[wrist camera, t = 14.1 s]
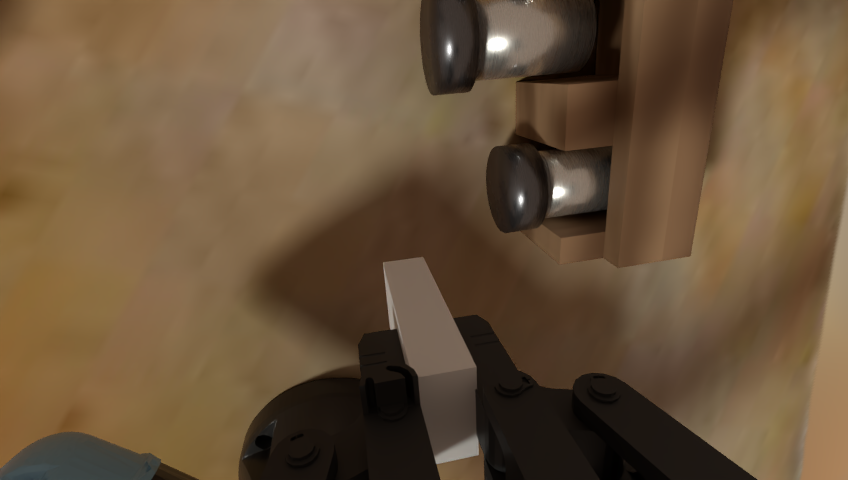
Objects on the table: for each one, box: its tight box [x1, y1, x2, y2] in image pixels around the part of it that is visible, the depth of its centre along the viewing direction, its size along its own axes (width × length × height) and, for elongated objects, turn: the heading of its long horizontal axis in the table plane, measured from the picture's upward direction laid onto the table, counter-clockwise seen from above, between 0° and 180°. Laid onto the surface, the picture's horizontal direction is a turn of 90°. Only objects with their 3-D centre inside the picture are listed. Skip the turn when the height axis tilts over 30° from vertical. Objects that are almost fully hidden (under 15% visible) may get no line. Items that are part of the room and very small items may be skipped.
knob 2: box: [486, 143, 613, 233], centre depth 29 cm, size 9×6×6 cm, turn 95°
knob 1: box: [420, 0, 597, 95], centre depth 25 cm, size 9×6×6 cm, turn 95°
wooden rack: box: [516, 0, 733, 268], centre depth 26 cm, size 8×27×9 cm, turn 5°
